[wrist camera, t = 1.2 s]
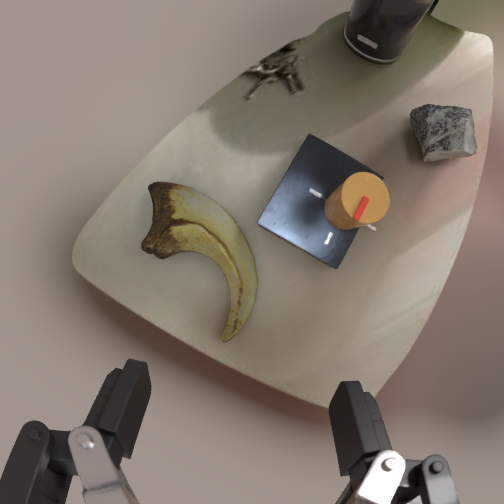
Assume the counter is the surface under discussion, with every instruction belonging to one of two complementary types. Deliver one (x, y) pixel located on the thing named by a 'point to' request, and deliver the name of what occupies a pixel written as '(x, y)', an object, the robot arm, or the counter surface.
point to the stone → (444, 131)
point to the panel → (312, 201)
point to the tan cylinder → (357, 202)
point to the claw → (204, 242)
